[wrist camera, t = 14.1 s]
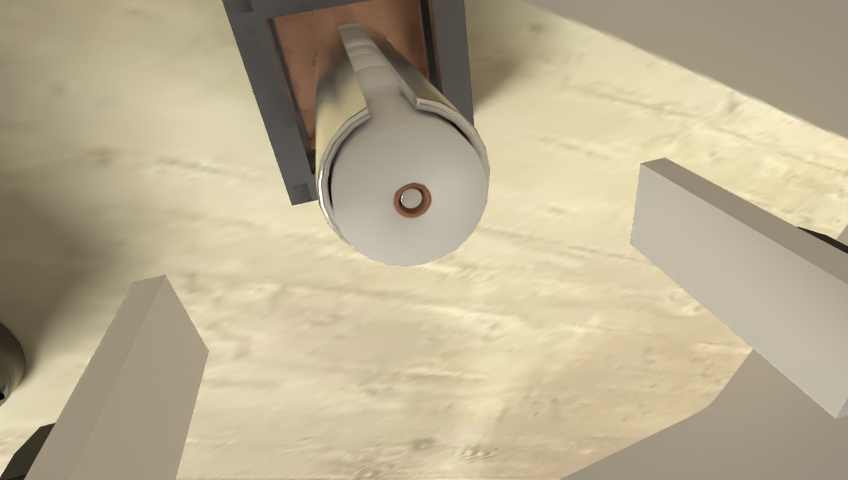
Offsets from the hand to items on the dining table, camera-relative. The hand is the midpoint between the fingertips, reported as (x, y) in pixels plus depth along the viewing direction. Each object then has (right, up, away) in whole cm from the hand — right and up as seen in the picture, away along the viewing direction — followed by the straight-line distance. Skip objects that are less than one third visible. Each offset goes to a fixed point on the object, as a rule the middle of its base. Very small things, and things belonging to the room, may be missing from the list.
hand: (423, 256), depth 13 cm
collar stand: (-6, +15, +24) cm, 29 cm away
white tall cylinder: (-5, +15, +24) cm, 29 cm away
